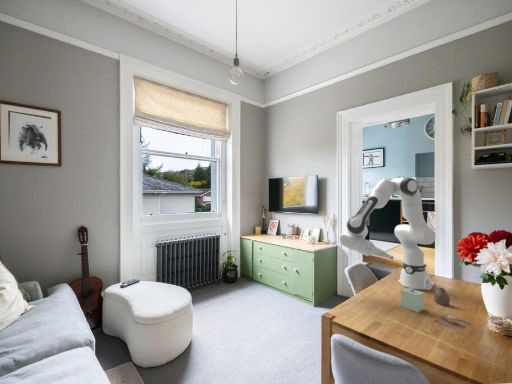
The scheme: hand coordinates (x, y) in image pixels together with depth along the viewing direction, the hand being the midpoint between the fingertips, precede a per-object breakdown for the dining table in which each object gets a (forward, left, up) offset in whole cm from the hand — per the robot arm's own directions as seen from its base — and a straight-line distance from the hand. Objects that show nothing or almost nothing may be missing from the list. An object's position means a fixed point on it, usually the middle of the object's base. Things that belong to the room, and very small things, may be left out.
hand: (392, 257), depth 138 cm
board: (+1, +28, -24) cm, 37 cm away
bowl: (+1, +28, -23) cm, 36 cm away
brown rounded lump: (-18, +17, -24) cm, 35 cm away
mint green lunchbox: (+1, +11, -24) cm, 26 cm away
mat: (+1, +11, -24) cm, 27 cm away
